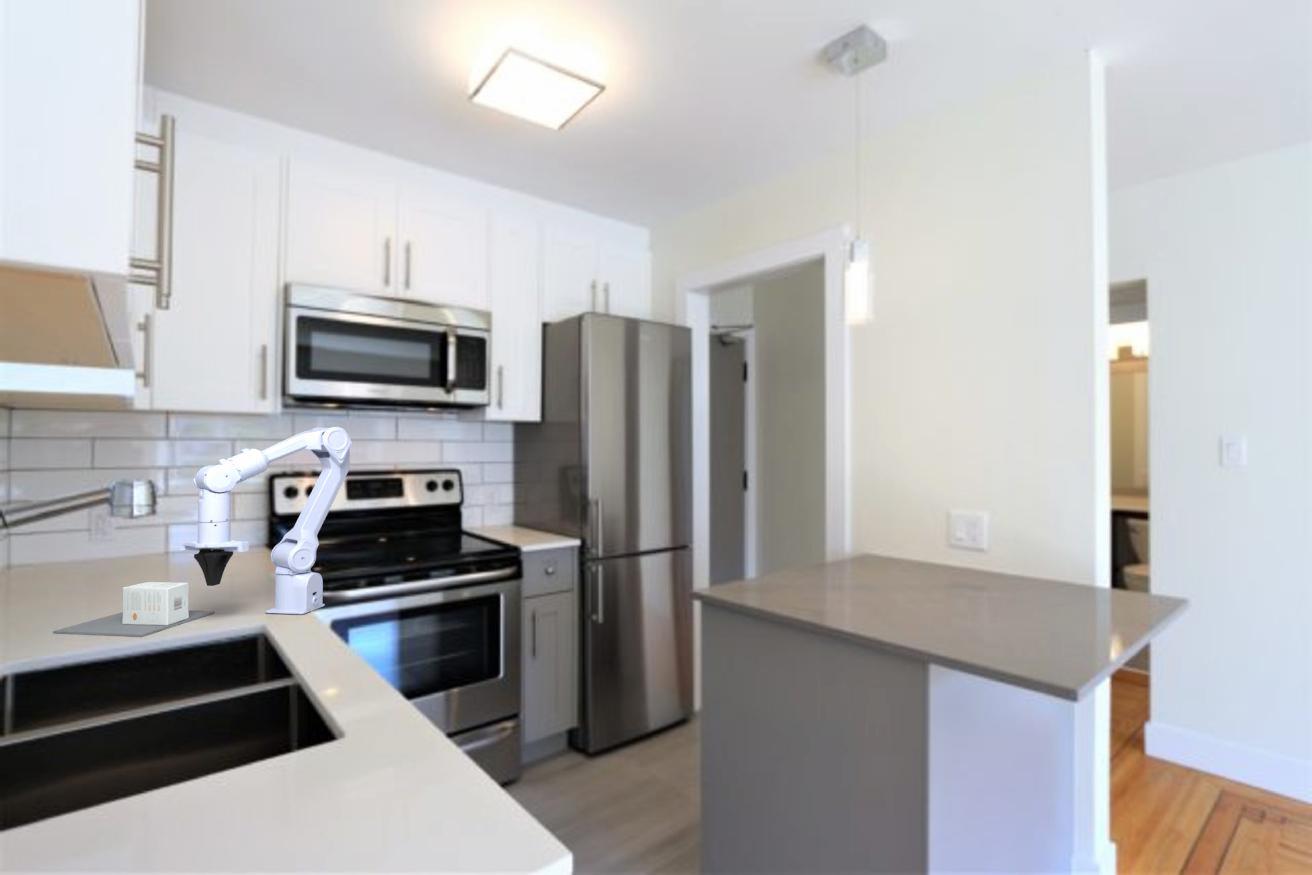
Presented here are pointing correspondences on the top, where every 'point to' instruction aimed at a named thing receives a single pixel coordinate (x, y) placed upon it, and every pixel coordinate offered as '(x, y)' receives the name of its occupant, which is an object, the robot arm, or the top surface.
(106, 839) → the top surface
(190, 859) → the top surface
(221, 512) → the robot arm
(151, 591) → the small box
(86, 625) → the mat
